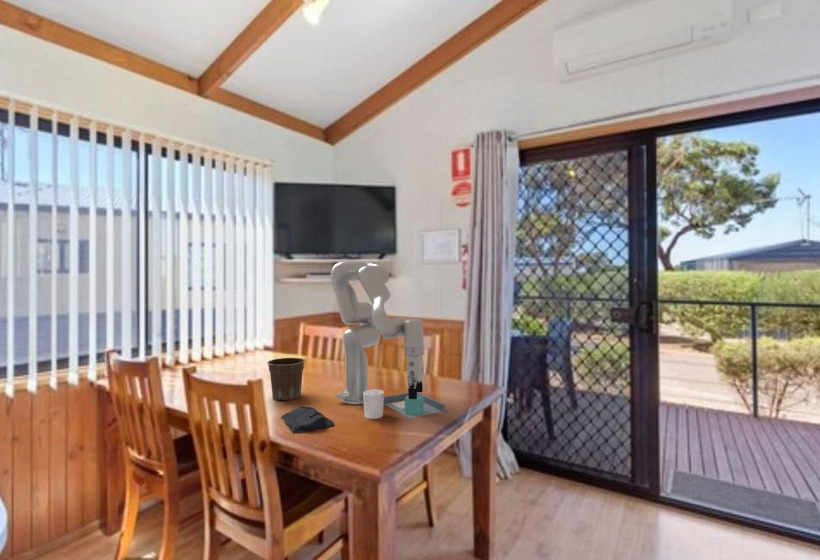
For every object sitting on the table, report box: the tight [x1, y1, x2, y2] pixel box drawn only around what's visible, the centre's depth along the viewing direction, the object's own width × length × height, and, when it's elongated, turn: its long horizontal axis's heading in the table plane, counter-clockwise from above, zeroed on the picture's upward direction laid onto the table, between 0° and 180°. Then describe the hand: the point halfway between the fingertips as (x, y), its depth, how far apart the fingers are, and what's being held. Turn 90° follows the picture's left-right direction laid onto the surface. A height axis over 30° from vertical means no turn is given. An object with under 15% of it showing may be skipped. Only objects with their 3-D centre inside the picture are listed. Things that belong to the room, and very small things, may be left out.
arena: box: [384, 391, 446, 419], centre depth 180 cm, size 16×22×4 cm
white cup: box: [363, 388, 385, 420], centre depth 170 cm, size 8×8×10 cm
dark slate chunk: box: [280, 405, 335, 435], centre depth 167 cm, size 15×22×5 cm
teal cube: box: [405, 394, 424, 415], centre depth 173 cm, size 6×6×6 cm
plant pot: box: [266, 357, 306, 401], centre depth 199 cm, size 16×16×16 cm
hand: (415, 395), depth 173 cm, fingers open, 9 cm apart
